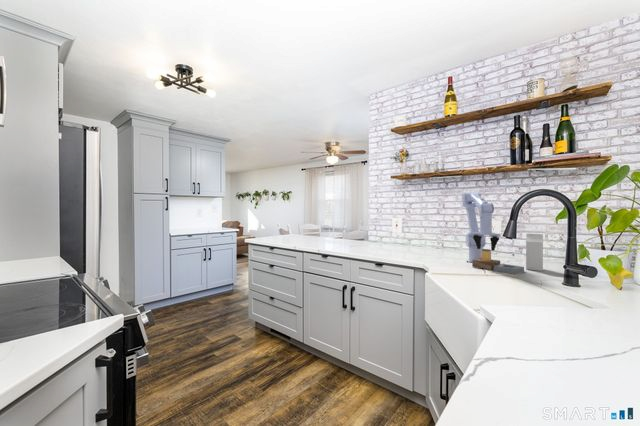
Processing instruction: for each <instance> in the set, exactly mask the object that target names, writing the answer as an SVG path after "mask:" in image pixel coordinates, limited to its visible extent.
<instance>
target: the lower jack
mask: <svg viewBox="0 0 640 426" xmlns="http://www.w3.org/2000/svg"><path fill="white" fill-rule="evenodd" d="M493 271H494V272H499V273H506V274H512V275H513V274H514V275H517V274H520V273H524V272H525V266H520V265H513V264H508V263H507V264H506V263H500V265H495V266H494V269H493Z"/></svg>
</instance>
